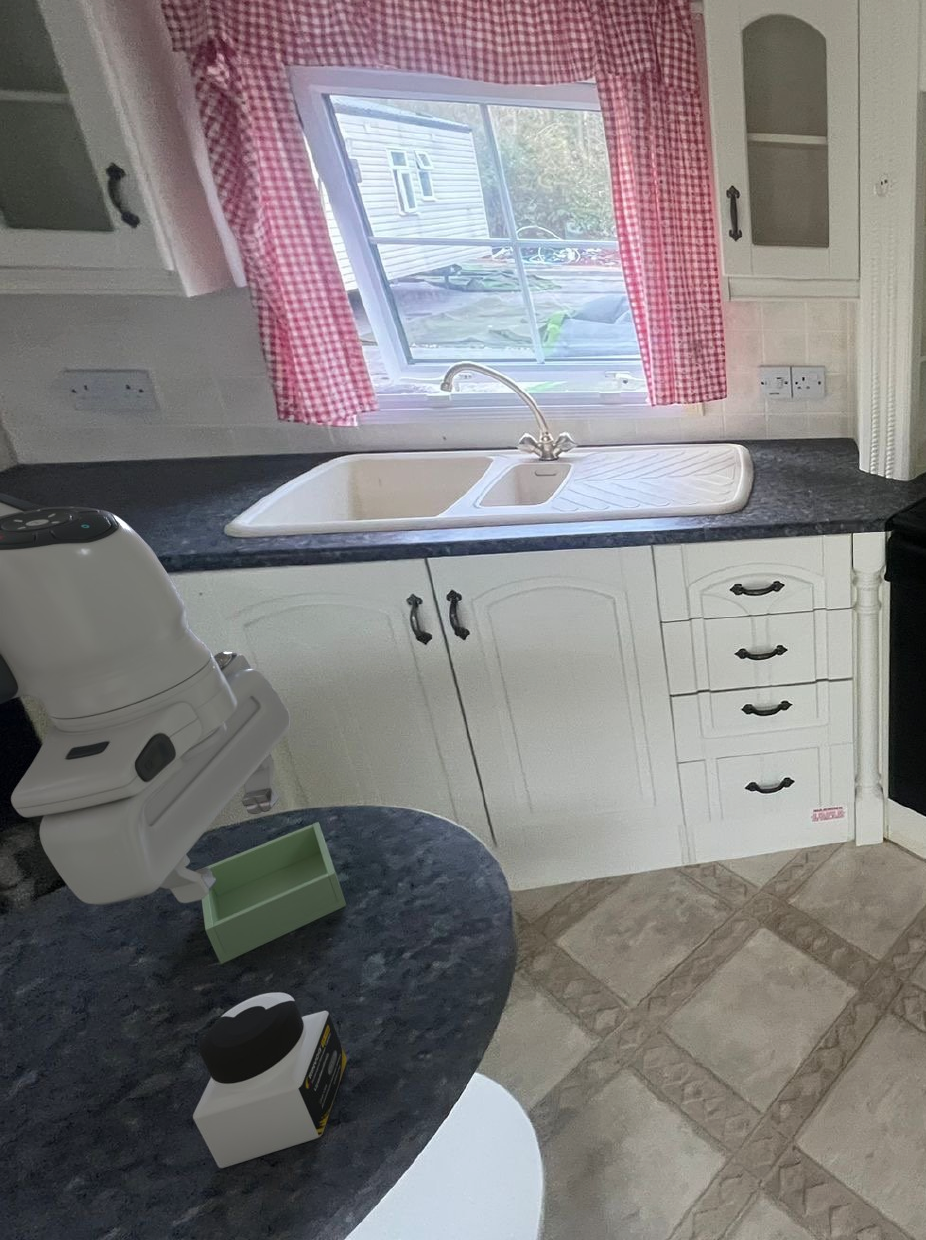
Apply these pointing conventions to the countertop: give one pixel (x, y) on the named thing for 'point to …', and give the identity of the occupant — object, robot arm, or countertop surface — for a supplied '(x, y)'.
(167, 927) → the countertop surface
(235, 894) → the tub
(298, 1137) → the medicine bottle
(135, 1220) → the countertop surface
